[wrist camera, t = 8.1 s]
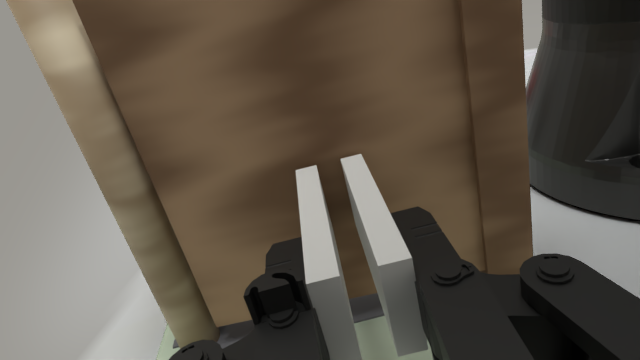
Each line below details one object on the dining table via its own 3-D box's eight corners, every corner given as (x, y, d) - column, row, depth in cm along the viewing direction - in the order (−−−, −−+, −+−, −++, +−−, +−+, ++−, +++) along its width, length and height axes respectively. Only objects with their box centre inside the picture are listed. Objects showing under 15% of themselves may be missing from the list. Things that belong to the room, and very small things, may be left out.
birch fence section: (240, 202, 32) (158, -30, 26) (218, 351, 19) (38, -46, 13) (216, 209, 32) (128, -22, 26) (177, 362, 19) (-23, -30, 13)
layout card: (427, 154, 33) (427, 149, 32) (990, 765, 7) (999, 756, 7) (204, 212, 33) (202, 207, 33) (-41, 1017, 7) (-55, 1015, 7)
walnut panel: (220, 344, 19) (52, -33, 13) (227, 315, 20) (80, -32, 14) (534, 278, 18) (514, -161, 12) (514, 253, 19) (488, -145, 13)
